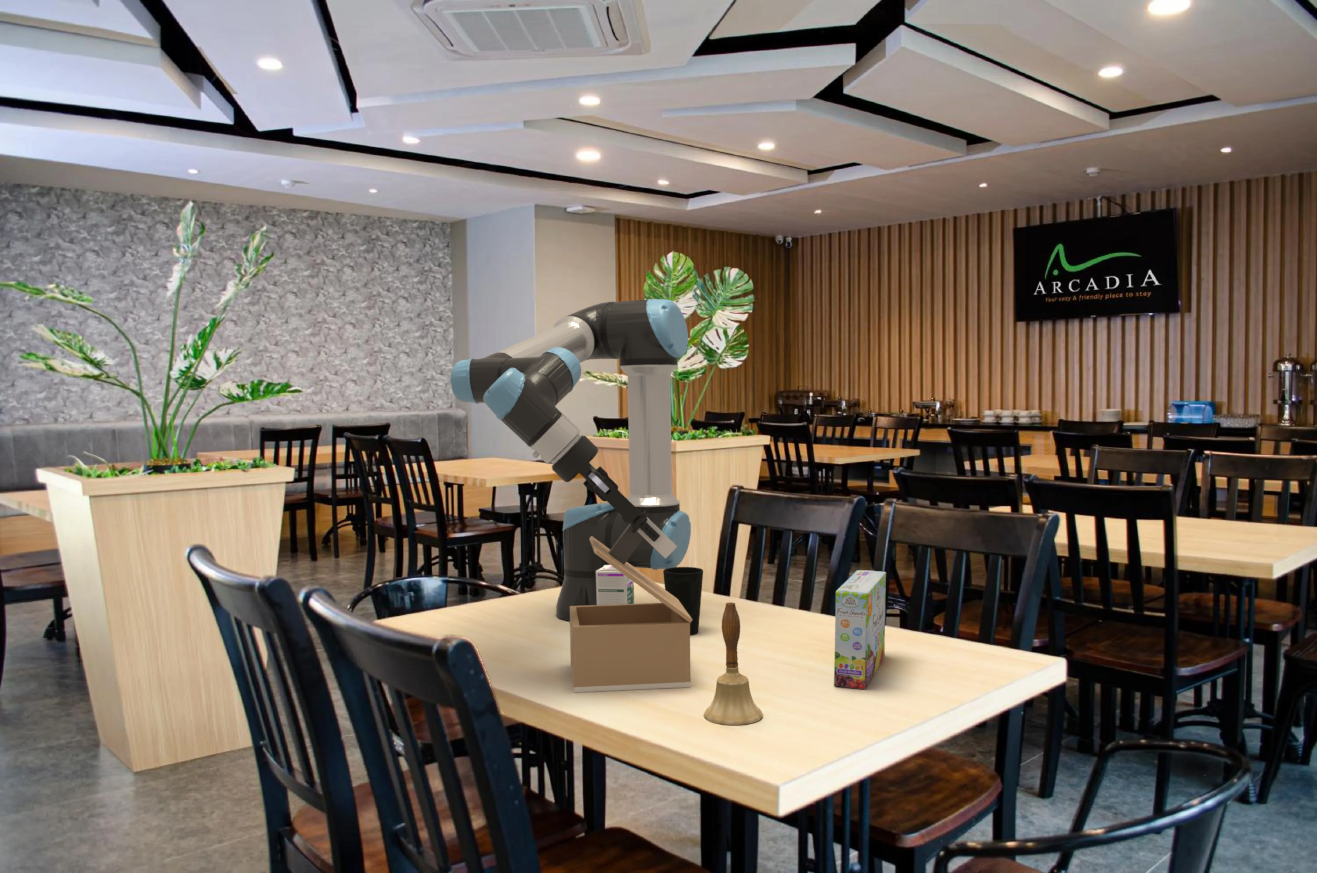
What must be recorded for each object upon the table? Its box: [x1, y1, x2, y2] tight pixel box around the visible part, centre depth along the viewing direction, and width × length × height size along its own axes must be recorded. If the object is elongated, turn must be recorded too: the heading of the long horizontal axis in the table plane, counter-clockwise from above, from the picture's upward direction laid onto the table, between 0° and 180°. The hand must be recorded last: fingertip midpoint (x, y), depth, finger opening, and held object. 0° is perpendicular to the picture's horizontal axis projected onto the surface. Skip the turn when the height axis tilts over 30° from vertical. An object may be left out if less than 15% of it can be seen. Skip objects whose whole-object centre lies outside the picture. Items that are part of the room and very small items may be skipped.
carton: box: [569, 602, 692, 693], centre depth 159 cm, size 18×16×10 cm
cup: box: [663, 566, 704, 636], centre depth 188 cm, size 8×8×12 cm
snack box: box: [833, 569, 887, 690], centre depth 160 cm, size 21×6×15 cm, turn 160°
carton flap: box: [590, 524, 692, 623], centre depth 159 cm, size 18×16×9 cm
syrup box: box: [596, 565, 635, 605], centre depth 178 cm, size 6×6×14 cm
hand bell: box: [703, 602, 764, 726], centre depth 138 cm, size 8×8×16 cm
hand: (669, 551), depth 159 cm, fingers closed on carton flap, 2 cm apart
